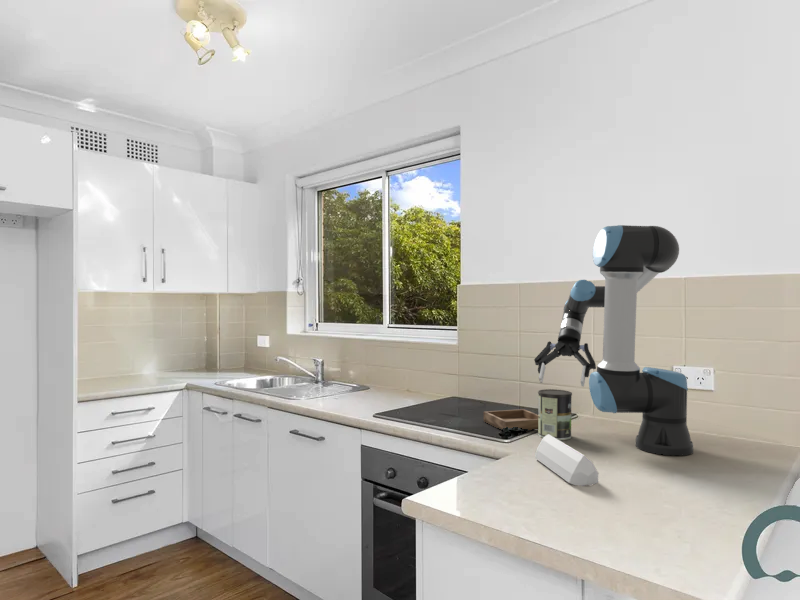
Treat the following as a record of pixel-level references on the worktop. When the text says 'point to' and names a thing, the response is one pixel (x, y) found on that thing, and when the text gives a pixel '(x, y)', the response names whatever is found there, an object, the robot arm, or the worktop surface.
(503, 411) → the tray
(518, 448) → the worktop surface
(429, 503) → the worktop surface
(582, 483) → the crystal
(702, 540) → the worktop surface
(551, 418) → the coffee can
